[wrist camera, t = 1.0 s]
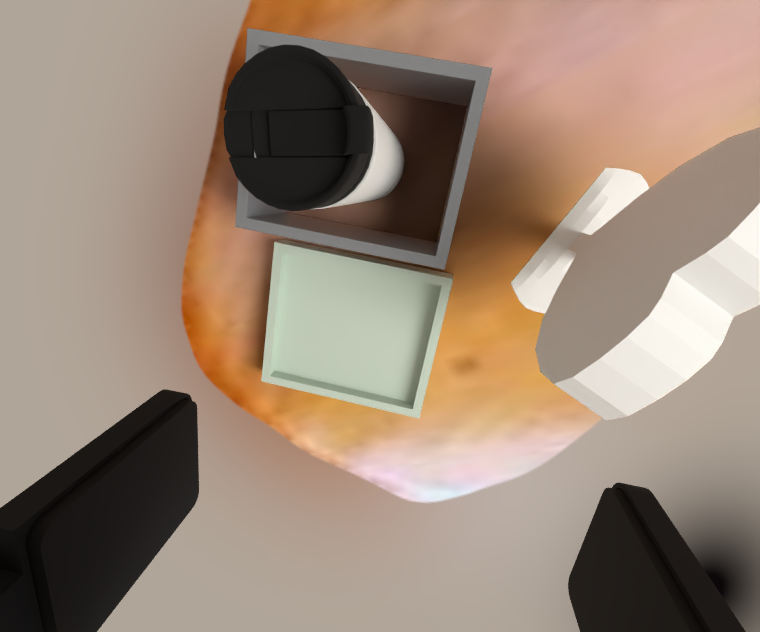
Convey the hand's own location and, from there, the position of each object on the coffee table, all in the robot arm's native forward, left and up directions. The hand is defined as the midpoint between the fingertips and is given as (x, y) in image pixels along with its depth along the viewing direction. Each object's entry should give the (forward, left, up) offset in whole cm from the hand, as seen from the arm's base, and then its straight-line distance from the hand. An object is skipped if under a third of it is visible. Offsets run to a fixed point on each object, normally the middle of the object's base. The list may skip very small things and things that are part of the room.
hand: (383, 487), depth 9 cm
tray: (+7, -5, -29) cm, 30 cm away
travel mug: (-8, -6, -29) cm, 31 cm away
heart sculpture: (-4, +12, -29) cm, 32 cm away
